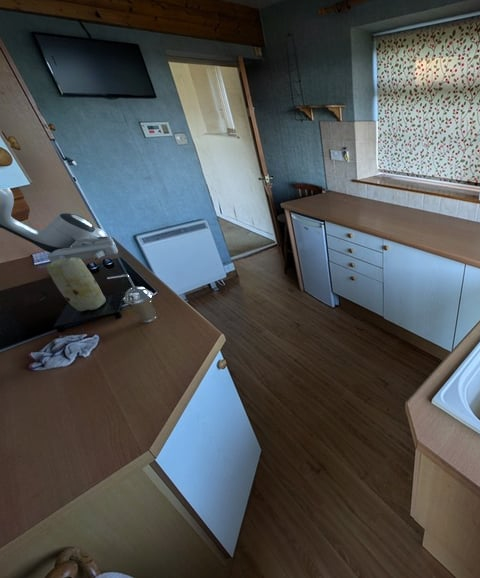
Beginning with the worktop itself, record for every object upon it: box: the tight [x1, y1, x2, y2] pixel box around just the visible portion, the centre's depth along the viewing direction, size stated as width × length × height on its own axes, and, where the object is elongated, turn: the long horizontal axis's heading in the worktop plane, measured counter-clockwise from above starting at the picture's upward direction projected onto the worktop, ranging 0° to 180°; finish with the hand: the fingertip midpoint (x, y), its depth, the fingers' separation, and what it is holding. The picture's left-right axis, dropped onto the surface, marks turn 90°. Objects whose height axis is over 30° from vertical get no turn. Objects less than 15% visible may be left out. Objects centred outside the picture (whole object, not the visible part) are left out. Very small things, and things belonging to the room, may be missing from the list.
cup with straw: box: [106, 274, 158, 324], centre depth 105 cm, size 8×9×20 cm
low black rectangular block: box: [52, 291, 126, 334], centre depth 112 cm, size 18×16×3 cm
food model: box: [45, 258, 106, 311], centre depth 106 cm, size 10×7×20 cm
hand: (79, 259), depth 112 cm, fingers open, 8 cm apart
